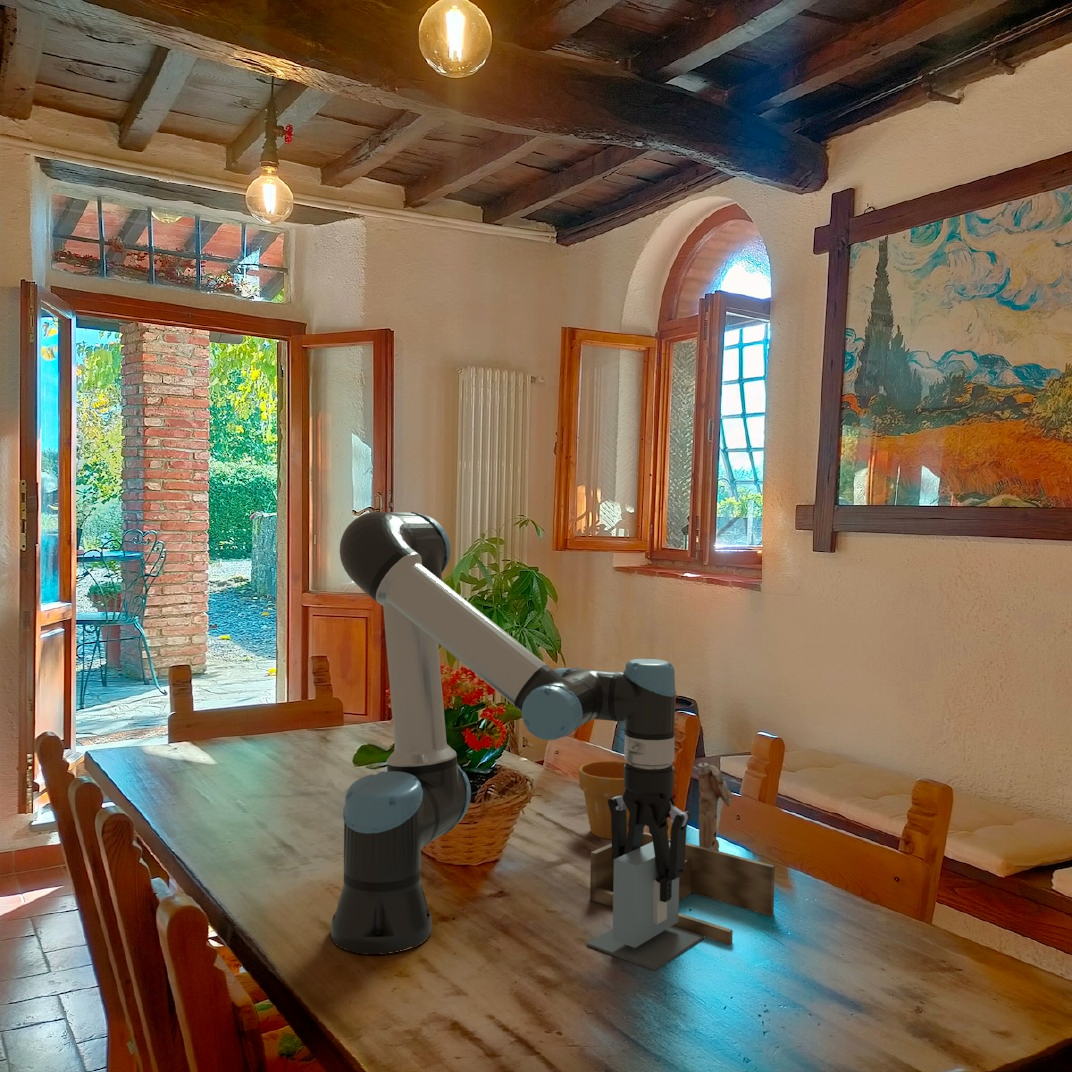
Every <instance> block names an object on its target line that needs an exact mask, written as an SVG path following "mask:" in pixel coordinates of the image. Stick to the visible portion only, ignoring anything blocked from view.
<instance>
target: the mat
mask: <svg viewBox="0 0 1072 1072" xmlns="http://www.w3.org/2000/svg"><path fill="white" fill-rule="evenodd" d="M704 939H705V937H704V936H703V935H700V934H697V933H694V932H691V931H688V930H685V929H682V928H679V927H676V926H671V927H669V928H668V929H666V930H664V931H663V932H661V933H659V934H658V935H656V936H654V937H653V938H651V939H649V940H648V941H646V942H644V943H643V944H641V945H639V946H638V947H636V948H634V947H631V946H628V945H625V944H622V943H620V942H617V941H614V940H613V928H611V929H609V930H608V931H606V932H604V933H602V934H600V935H599V936H596V937H595V938H593V939H591V940H589V941H587V942H586V947H588V948H591V947H594V948H596V949H595V950H597V949H598V950H597V951H600V952H602V951H603V952H602V953H605V954H608V955H611V956H613V955H614V957H616V958H619V959H621V960H624V961H627V962H630V963H632V964H636V965H639V966H641V967H644V968H646V969H649V970H652V971H656V970H658V969H659V968H661V967H663V966H664V965H666V964H667V963H668V962H670V961H672V960H673V959H675V958H677V957H678V956H679V955H681V954H682V953H684V952H685V951H687V950H689V949H691V948H692V947H693V946H695V945H696V944H698V943H699V942H700V941H702V940H704ZM594 948H593V949H594Z"/></svg>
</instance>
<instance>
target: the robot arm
mask: <svg viewBox="0 0 1072 1072" xmlns="http://www.w3.org/2000/svg"><path fill="white" fill-rule="evenodd" d="M339 543H340V544H339V557H340V562H341V565H342V567H343V569H344V571H345V572H346V573H347V574H346V575H348V577H349V578H350V580H351V581H353V582H354V584H355V585H356V586H358V587H359V589H361V590H362V592H363V591H364V593H365V594H366V595H367V596H369V597H370V598H371V599H373V600H374V601H375V602H377V604H379V605H381V606H382V607H383V608H382V609H383V621H384V633H385V644H386V655H387V656H386V657H387V669H388V679H389V680H388V682H389V683H388V684H389V693H390V695H389V696H390V703H391V704H390V705H391V715H392V718H391V720H392V730H393V742H394V743H393V744H394V749H393V750H394V751H393V752H392V753H391V754H390V755H389V757H388V758H387V759H386V768H387V769H386V770H387V771H381V772H378V773H377V774H373V773H372V774H368V775H365V776H363V777H360V778H357V780H356V781H354V782H353V783H352V784H350V786H349V787H348V788H347V791H346V793H345V796H344V806H343V810H342V811H343V812H342V818H343V883H342V884H343V885H342V888H341V893H340V896H339V899H338V902H337V907H336V910H335V912H334V914H333V917H332V919H331V924H330V925H331V927H330V929H331V930H330V931H331V932H330V933H331V934H330V938H331V940H332V939H333V941H334V942H335V943H336V944H337V945H338V946H340V947H342V948H345V949H347V950H349V951H348V952H350V951H353V952H358V953H357V954H359V953H365V954H364V955H367V954H380V953H389V952H396V951H400V950H404V949H407V948H409V947H414V946H416V945H418V944H420V943H421V942H423V941H424V940H426V938H428V937H429V935H430V933H431V934H432V914H431V911H430V909H429V907H428V906H429V905H428V903H427V898H426V895H425V892H424V889H423V887H422V883H421V882H422V881H421V872H422V871H421V869H422V866H421V864H422V859H421V858H422V857H421V856H422V848H424V847H425V846H427V845H429V844H430V843H432V842H433V841H435V840H436V839H438V838H439V837H441V836H444V835H446V834H448V833H449V832H450V831H452V830H453V829H454V828H455V827H456V826H457V825H458V824H459V823H460V822H461V821H462V820H463V818H464V817H465V815H466V813H467V812H468V810H469V807H470V804H471V797H472V788H471V784H470V780H469V778H468V775H467V774H466V772H465V771H463V770H462V769H461V766H460V765H459V764H458V757H457V756H458V755H457V754H458V753H457V752H456V750H454V749H453V748H452V747H451V746H450V745H449V744H448V743H447V732H446V721H445V719H446V718H445V707H444V696H443V685H442V684H443V683H442V672H441V671H442V670H441V662H440V659H441V658H440V649H439V645H440V646H441V647H442V648H443V649H445V650H446V651H447V652H448V653H449V654H451V655H452V656H453V657H454V658H455V659H457V660H458V661H459V662H460V663H461V664H463V665H464V666H465V667H466V668H467V669H469V670H470V671H471V672H473V673H474V674H475V675H476V676H477V677H478V678H480V679H481V680H482V681H484V683H486V684H487V685H488V686H490V687H491V688H492V689H494V690H495V692H497V693H498V694H499V695H501V696H502V697H503V698H505V699H506V701H508V702H509V703H511V704H512V705H513V706H514V707H515V708H516V709H517V710H519V711H520V712H521V718H522V721H523V723H524V725H525V728H526V729H527V731H528V732H529V733H530V734H531V735H533V737H536V738H538V739H540V740H543V741H554V740H557V739H562V738H564V737H567V736H570V735H571V734H572V733H573V732H575V731H576V730H578V729H579V728H580V727H582V726H583V725H585V724H588V723H589V722H591V721H593V720H596V721H597V720H598V721H611V722H612V721H613V722H623V723H624V724H623V725H624V753H623V754H624V760H625V762H626V764H625V765H624V787H625V792H624V793H623V796H616V797H613V798H611V799H609V800H608V805H609V808H610V812H611V834H612V839H611V843H612V861H613V863H614V859H616V858H618V857H620V856H622V855H625V854H627V853H629V852H631V851H633V850H636V849H638V848H640V845H641V840H642V835H643V832H644V829H645V826H647V827H648V833H650V834H651V835H652V840H653V846H654V853H655V859H656V866H657V872H658V877H657V878H656V879H654V886H653V923H654V924H659V923H661V922H662V921H664V920H666V919H667V901H669V900H670V899H671V897H672V880H675V879H677V878H678V877H680V876H682V875H683V874H684V866H685V846H686V843H687V842H686V841H687V827H688V824H689V821H690V820H691V813H690V812H689V811H687V810H686V811H682V810H681V809H679V808H678V807H677V806H676V804H675V800H674V798H673V791H674V787H675V767H674V765H673V763H674V762H675V738H676V737H675V722H676V721H675V719H676V718H675V715H676V714H675V713H676V698H677V697H676V695H677V690H676V673H675V668H674V666H673V664H672V663H671V662H669V661H667V660H663V659H655V658H635V659H631V660H628V661H626V663H625V669H624V670H623V671H622V670H621V671H611V670H599V669H589V668H588V669H587V668H579V667H576V666H575V667H573V666H572V667H570V668H569V667H567V668H566V667H558V668H554V669H553V668H551V667H550V666H549V665H547V663H545V662H544V661H543V660H542V659H540V658H539V657H538V656H536V655H535V654H534V653H533V652H531V651H530V650H529V649H528V648H526V647H525V646H524V645H522V644H521V643H520V642H519V641H518V640H517V639H515V638H514V637H512V636H511V635H510V634H509V633H508V632H507V631H505V630H504V629H503V628H501V627H500V626H499V625H498V624H496V623H495V622H494V621H493V620H491V619H490V618H489V617H487V615H485V614H484V613H483V612H481V611H480V610H479V609H477V607H475V606H474V605H473V604H471V603H470V602H469V601H468V600H467V599H465V598H464V597H463V596H462V595H460V594H458V593H457V592H456V591H455V590H454V589H453V588H451V587H450V586H449V585H447V583H445V582H444V581H443V576H442V574H443V573H444V571H445V569H446V568H447V566H449V563H450V558H451V552H452V551H451V542H450V539H449V537H448V533H447V532H446V530H445V529H444V527H443V526H442V525H441V524H440V523H439V522H438V521H437V520H436V519H434V518H433V517H431V516H429V515H427V514H422V513H418V512H415V511H410V512H409V511H404V512H400V511H399V512H397V511H395V512H392V511H391V512H385V511H371V512H367V513H364V514H361V515H360V516H358V517H356V518H355V519H354V520H353V521H351V523H349V524H348V525H347V527H346V528H345V529H344V531H343V534H342V536H341V539H340V542H339ZM626 807H627V809H628V811H629V813H630V816H629V821H628V827H629V830H628V835H627V815H626ZM669 816H670V817H669ZM668 818H670V823H671V826H670V827H671V828H670V846H669V840H668V838H669V836H668V835H669V834H668V830H669V823H668V822H669V821H668ZM430 936H431V935H430ZM429 938H430V937H429ZM429 938H428V939H429ZM333 941H332V942H333ZM426 941H427V940H426ZM334 942H333V943H334ZM335 943H334V944H335ZM336 944H335V945H336ZM337 945H336V946H337ZM338 946H337V947H338ZM340 947H339V948H340ZM342 948H341V949H342ZM347 950H346V951H347ZM353 952H352V953H353ZM366 953H367V954H366Z"/></svg>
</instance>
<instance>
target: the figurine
mask: <svg viewBox="0 0 1072 1072" xmlns="http://www.w3.org/2000/svg"><path fill="white" fill-rule="evenodd" d="M697 776H698V777H697V779H698V806H699V807H698V846H701V847H705V848H709V849H712V850H716V851H720V843H719V840H718V839H717V833H718V832H717V829H718V828H717V821H718V820H717V818H718V815H717V814H718V803H719V799H721V800H722V801H723V803H724V804H725V805H726V806H727V807H731V804H732V799H733V797H734V796H733V794H732V791H731V790H729V789H728V784H727V783H726V781H725V780H724V778H723V775H722V773H721V771H720V769H718V767H717V766H714V765H712V764H709V763H707V762H701V763H698V765H697Z"/></svg>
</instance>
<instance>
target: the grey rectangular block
mask: <svg viewBox="0 0 1072 1072" xmlns="http://www.w3.org/2000/svg"><path fill="white" fill-rule="evenodd" d="M669 846H670V842H669ZM657 877H658V872H657V866H656V859H655V853H654V846H653V842H651V843H649V844H646V845H644V846H642V847H640V848H638V849H636V850H633V851H631V852H629V853H627V854H625V855H622V856H620V857H618V858H616V859H614V882H613V907H612V929H613V940H614V941H617V942H620V943H622V944H625V945H628V946H631V947H634V948H636V947H638V946H639V945H641V944H643V943H644V942H646V941H648V940H649V939H651V938H653V937H654V936H656V935H658V934H659V933H661V932H663V931H664V930H666V929H668V928H669V927H671V926H673V925H674V924H676V923H678V916H679V913H680V912H679V911H680V910H679V907H680V906H679V905H680V902H679V901H680V900H679V877H678V878H677V879H675V880H672V897H671V899H670V900H669V901H667V919H666V920H664V921H662V922H661V923H659V924H654V923H653V886H654V879H656V878H657Z"/></svg>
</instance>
